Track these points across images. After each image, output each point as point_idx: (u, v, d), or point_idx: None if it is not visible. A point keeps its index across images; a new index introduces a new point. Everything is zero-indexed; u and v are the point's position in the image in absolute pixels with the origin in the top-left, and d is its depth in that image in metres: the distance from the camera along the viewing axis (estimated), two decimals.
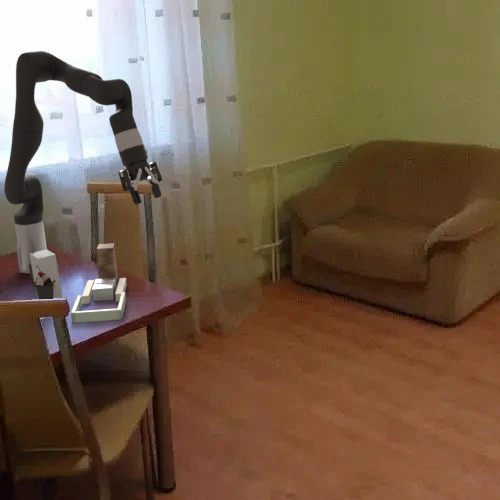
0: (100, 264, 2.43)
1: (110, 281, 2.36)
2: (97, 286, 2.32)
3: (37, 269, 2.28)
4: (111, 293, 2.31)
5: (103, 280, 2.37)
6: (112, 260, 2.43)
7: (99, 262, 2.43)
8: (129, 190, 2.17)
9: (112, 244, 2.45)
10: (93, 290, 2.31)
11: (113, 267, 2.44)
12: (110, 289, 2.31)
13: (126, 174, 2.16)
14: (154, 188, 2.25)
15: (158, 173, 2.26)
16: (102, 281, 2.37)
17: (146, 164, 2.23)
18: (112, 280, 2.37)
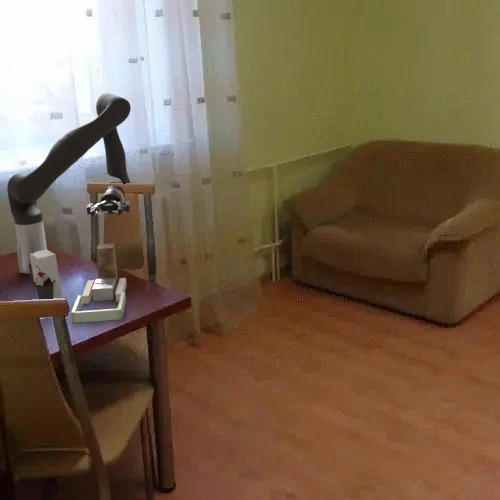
0: (100, 264, 2.43)
1: (110, 281, 2.36)
2: (97, 286, 2.32)
3: (37, 269, 2.28)
4: (111, 293, 2.31)
5: (103, 280, 2.37)
6: (112, 260, 2.43)
7: (99, 262, 2.43)
8: (126, 209, 2.56)
9: (112, 244, 2.45)
10: (93, 290, 2.31)
11: (113, 267, 2.44)
12: (110, 289, 2.31)
13: None
14: (95, 211, 2.55)
15: None
16: (102, 281, 2.37)
17: None
18: (112, 280, 2.37)
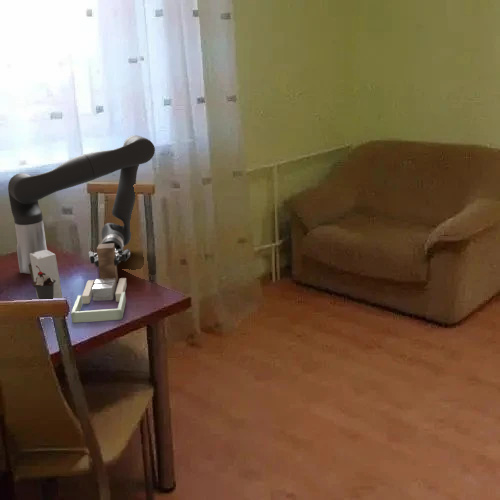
0: (100, 264, 2.43)
1: (110, 281, 2.36)
2: (97, 286, 2.32)
3: (37, 269, 2.28)
4: (111, 293, 2.31)
5: (103, 280, 2.37)
6: (112, 260, 2.43)
7: (99, 262, 2.43)
8: (122, 259, 2.48)
9: (112, 244, 2.45)
10: (93, 290, 2.31)
11: (113, 267, 2.44)
12: (110, 289, 2.31)
13: None
14: None
15: None
16: (102, 281, 2.37)
17: None
18: (112, 280, 2.37)
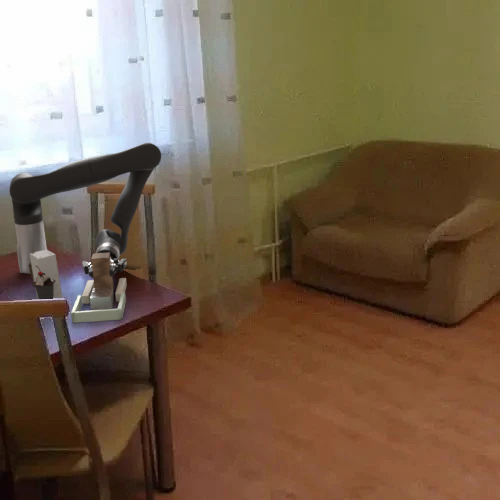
0: (95, 275, 2.29)
1: (107, 291, 2.28)
2: (95, 295, 2.25)
3: (37, 269, 2.28)
4: (109, 302, 2.24)
5: (100, 290, 2.29)
6: (107, 270, 2.29)
7: (94, 273, 2.29)
8: (118, 269, 2.33)
9: (108, 254, 2.31)
10: (91, 299, 2.23)
11: (109, 278, 2.30)
12: (108, 298, 2.23)
13: None
14: None
15: None
16: (99, 291, 2.28)
17: None
18: (110, 290, 2.28)
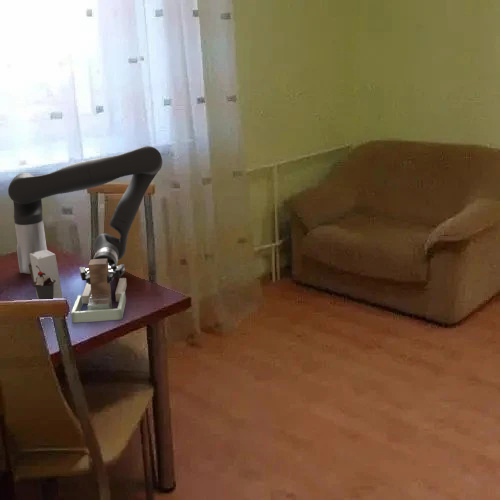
0: (92, 281, 2.24)
1: (105, 297, 2.23)
2: (92, 302, 2.20)
3: (37, 269, 2.28)
4: None
5: (98, 296, 2.24)
6: (105, 277, 2.24)
7: (91, 279, 2.24)
8: (116, 275, 2.29)
9: (105, 260, 2.26)
10: (88, 306, 2.18)
11: (106, 284, 2.25)
12: (106, 305, 2.18)
13: None
14: None
15: None
16: (97, 297, 2.23)
17: None
18: (107, 296, 2.23)
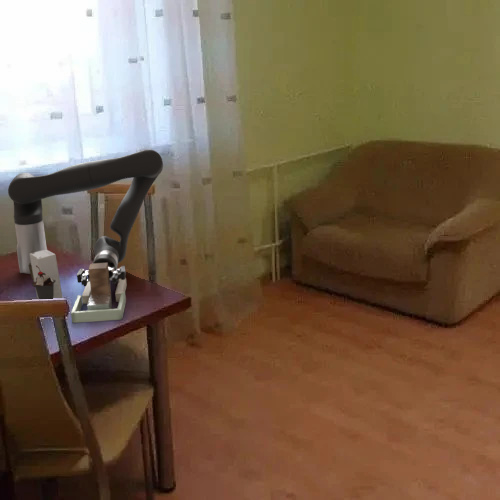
0: (92, 285, 2.25)
1: (105, 298, 2.23)
2: (92, 302, 2.20)
3: (37, 269, 2.28)
4: None
5: (98, 297, 2.24)
6: (105, 281, 2.24)
7: (91, 283, 2.24)
8: (121, 277, 2.29)
9: (106, 264, 2.27)
10: (88, 306, 2.18)
11: (106, 289, 2.25)
12: (106, 305, 2.18)
13: None
14: (86, 280, 2.27)
15: None
16: (97, 298, 2.23)
17: None
18: (107, 297, 2.23)
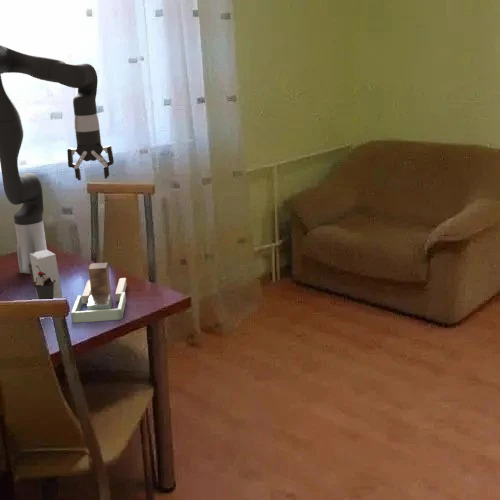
0: (92, 285, 2.25)
1: (105, 298, 2.22)
2: (92, 302, 2.20)
3: (37, 269, 2.28)
4: None
5: (98, 297, 2.24)
6: (105, 281, 2.24)
7: (91, 283, 2.24)
8: None
9: (106, 264, 2.27)
10: (88, 306, 2.18)
11: (106, 289, 2.25)
12: (106, 306, 2.18)
13: (69, 153, 2.42)
14: (104, 169, 2.46)
15: (109, 158, 2.44)
16: (97, 298, 2.23)
17: (97, 147, 2.43)
18: (107, 297, 2.23)
